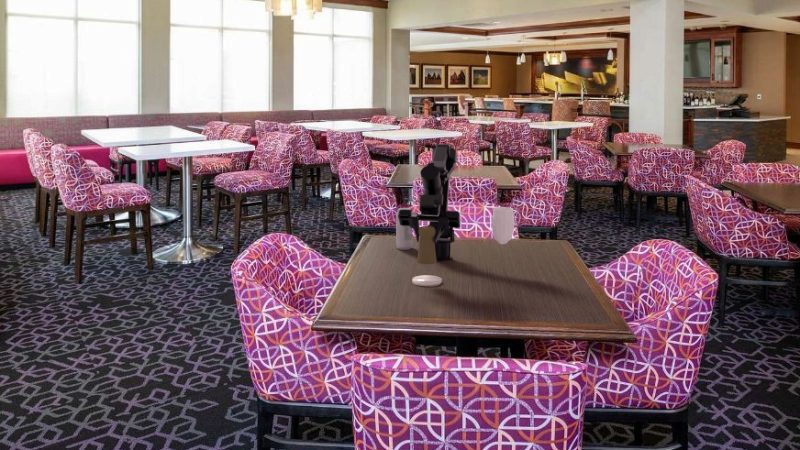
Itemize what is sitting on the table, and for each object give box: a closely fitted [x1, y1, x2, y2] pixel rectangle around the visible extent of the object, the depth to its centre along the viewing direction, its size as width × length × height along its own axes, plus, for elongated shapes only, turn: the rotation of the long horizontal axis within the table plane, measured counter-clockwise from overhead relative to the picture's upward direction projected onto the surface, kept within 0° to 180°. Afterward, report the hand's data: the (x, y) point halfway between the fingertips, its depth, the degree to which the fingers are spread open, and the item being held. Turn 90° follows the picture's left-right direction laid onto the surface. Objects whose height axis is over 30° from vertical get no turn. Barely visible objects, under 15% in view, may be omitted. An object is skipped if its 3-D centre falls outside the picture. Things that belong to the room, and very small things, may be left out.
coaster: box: [411, 274, 443, 287], centre depth 205 cm, size 9×9×1 cm
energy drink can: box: [395, 207, 413, 251], centre depth 250 cm, size 6×6×15 cm
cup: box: [491, 206, 515, 245], centre depth 217 cm, size 7×7×21 cm
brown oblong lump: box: [416, 225, 438, 265], centre depth 202 cm, size 6×6×11 cm
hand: (426, 241), depth 201 cm, fingers closed on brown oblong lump, 5 cm apart
